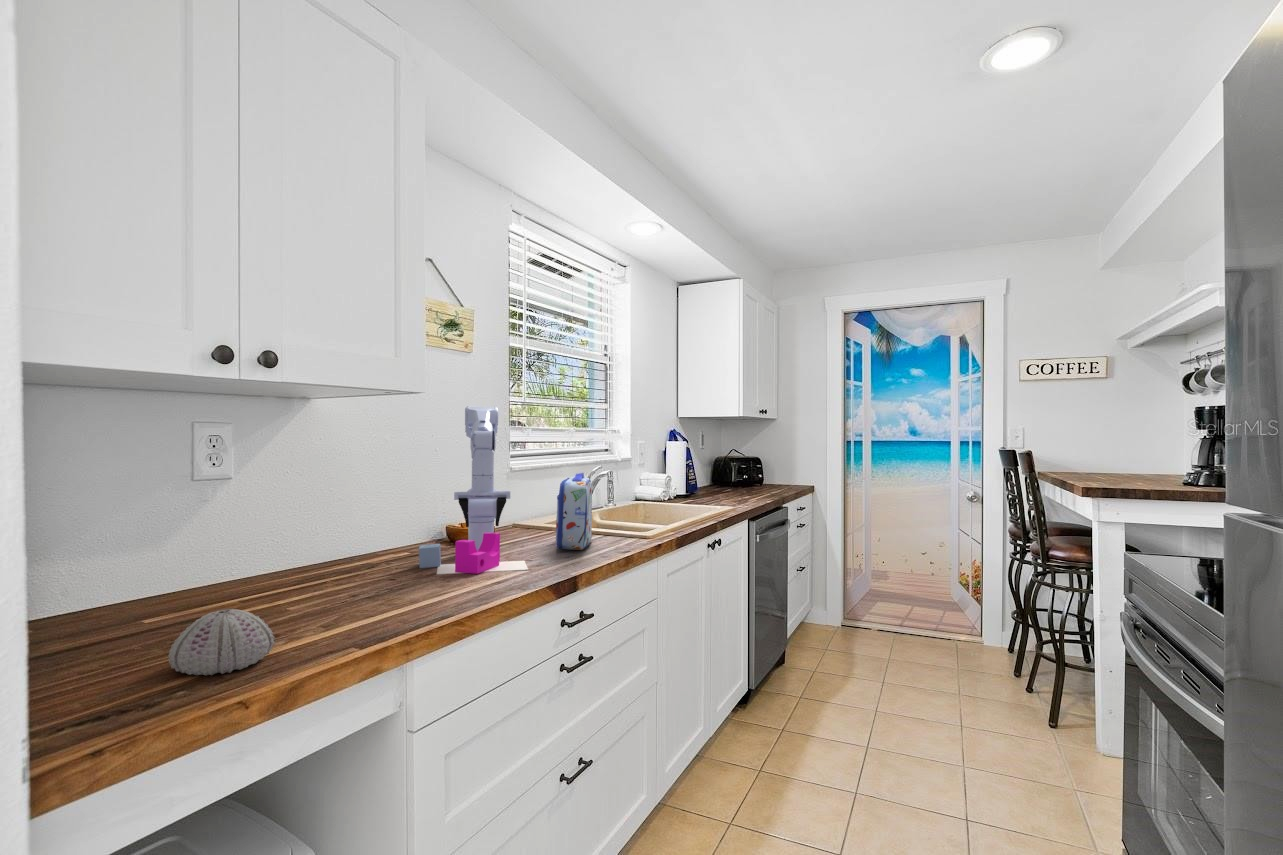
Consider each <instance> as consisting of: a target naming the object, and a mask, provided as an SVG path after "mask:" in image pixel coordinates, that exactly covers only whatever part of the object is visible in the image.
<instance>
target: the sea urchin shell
mask: <svg viewBox="0 0 1283 855" xmlns="http://www.w3.org/2000/svg"><path fill="white" fill-rule="evenodd" d="M273 634H274V632H273V629H271V627H269V624H267V623H265V620H264V619H262V618H260V616H259V615H254V613H253V612H249V611H246V610H242V609H238V608H237V609H235V608H228V609H224V608H223V609H221V610H220V609H219V610H216V611H212V612H208V613H207V614H205V615H202V616H200V618H197V619H196V620H195V621H193V623H192V624H190V625H189V626H186V628H185V630H184V631H182V632H180V634H179V636H178V637H177V638H176V639H174V643H172V644H171V646H170V650H169V651H168V652H169V653H168V655H167V657H168V658H169V660H168V664H170V668H171V669H173V670H175V672H180V673H181V674H187V675H188V676H189V675H190V676H191V675H194V676H199V675H200V676H201V675H204V676H209V675H210V676H213V675H216V674H221V675H224V674H225V673H230V674H231V673H232V672H233V671H235V670H238V671H240V670H242V669H245V668H248V667H249V666H251V665H254V664H257V663H258V662H259V661H261V660H263V659H264V658H265V656H266V655H269V654H270V651H271V650H273V646H274V645H275V644H276V642H275V641H274V640H275V638H276V637H275V636H274V635H273Z"/></svg>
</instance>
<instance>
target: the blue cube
mask: <svg viewBox="0 0 1283 855" xmlns="http://www.w3.org/2000/svg"><path fill="white" fill-rule="evenodd" d="M441 554H442V553H441V543H430V544H421V545H419V547H418V560H419V562H418V563H419V569H426V568H428V569H429V568H438V567H439V566H440V565H441V564H442V555H441Z"/></svg>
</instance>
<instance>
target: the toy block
mask: <svg viewBox="0 0 1283 855" xmlns="http://www.w3.org/2000/svg"><path fill="white" fill-rule="evenodd" d="M454 548H455V550H454V551H455V552H454V554H455V555H454V556H455V557H454V558H455V560H454V564H455V572H462V573H461V574H475V575H479V574H481V573H484V572H483V571H486V570H489V569H491V568H494V567H496V566H499V562H501V561H500V560H501V559H500V558H501V532H494V533H491V532H487V533H484V534H483V540H482V543H481V546H480V548H479V549H478V551H477V549H476V546H475V541H474V540H468V539H459V540H456V541H455V547H454Z"/></svg>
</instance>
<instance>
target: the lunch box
mask: <svg viewBox="0 0 1283 855" xmlns="http://www.w3.org/2000/svg"><path fill="white" fill-rule="evenodd" d="M592 492H593V490H592V480H591V479H590V478H588V477H585V476H584V472H580V473H575V475H574V476H572V477H571V476H570V477H567V478H565V479H564V480H562V481H561V482H560V485H559V493H558V494H557V496H556V498H557V504H556V520H555V546H556V548H557V549H560V550H574V551H583V550H584V549H585V548H587V547H588V546H590V544H591V542H592V537H593V532H592V531H593V530H592V528H593V526H592V524H593V523H592V519H593V518H592V517H593V513H592V512H593V510H592V509H593V493H592Z"/></svg>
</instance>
